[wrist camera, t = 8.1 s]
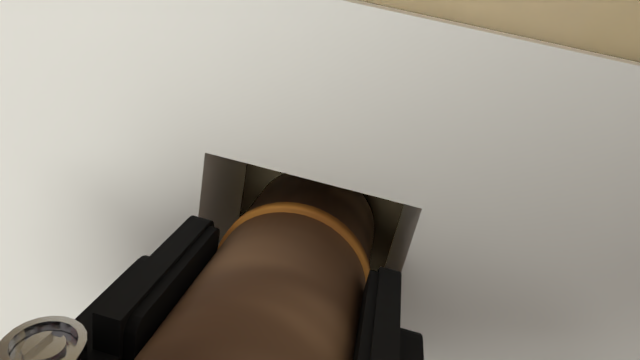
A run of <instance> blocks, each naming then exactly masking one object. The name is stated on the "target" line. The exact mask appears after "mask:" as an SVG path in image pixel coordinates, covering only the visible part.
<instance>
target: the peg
mask: <svg viewBox="0 0 640 360" xmlns="http://www.w3.org/2000/svg"><path fill="white" fill-rule="evenodd" d="M373 238H374V219H373V215H372V212H371V209H370V207H369V205H368V203H367V201H366V199H365V198H364V196H363V195H362V194H361V193H359V192H356V191H352V190H348V189H344V188H340V187H336V186H332V185H329V184H325V183H321V182H317V181H313V180H309V179H305V178H301V177H298V176H294V175H290V174H286V173H284V174H282V175H280V176H278V177H277V178H276V179H274V180H273V181H272V182H270V183H269V184H268V185H267V186H266V188H265V189H264V190H263V191H262V193H261V194H260V195H259V197H258V198H257V199H256V201H255V202H254V203H253V205H252V206H251V207H250V208H249V210H248V211H247V212H246V213H245V214H244V215H242V216H241V217H240V218H239V219H237V220H236V221H235V222H234V223H233V225H232V226H231V227H230V228H229V230H228V231H227V232H226V234H225V235H224V236H223V238H222V240H221V241H220V243H219V246H218V250H217V252H216V253H215V254H214V256H213V257H212V258H211V259H210V261H209V262H208V263H207V265H206V266H205V267H204V269H203V270H202V271H201V272H200V274H199V275H198V276H197V278H196V279H195V280H194V282H193V283H192V284H191V286H190V287H189V288H188V289H187V291H186V292H185V293H184V295H183V296H182V297H181V299H180V300H179V301H178V303H177V304H176V305H175V306H174V308H173V309H172V310H171V312H170V313H169V314H168V316H167V317H166V318H165V320H164V321H163V322H162V323H161V325H160V326H159V327H158V329H157V330H156V331H155V333H154V334H153V335H152V337H151V338H150V339H149V340H148V342H147V343H146V344H145V346H144V347H143V348H142V350H141V351H140V352H139V354H138V355H137V356H136V357H135V359H134V360H353V356H354V349H355V343H356V336H357V330H358V323H359V317H360V310H361V304H362V297H363V291H364V288H365V284H366V281H367V278H368V274H369V271H370V258H371V251H372V245H373Z"/></svg>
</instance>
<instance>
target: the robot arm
mask: <svg viewBox="0 0 640 360" xmlns="http://www.w3.org/2000/svg"><path fill="white" fill-rule="evenodd" d="M219 235H220V230H219V228H216V227H214V222H213V221H212V220H208V219H205V218H201V217H197V216H194V215H191V216H190V217H189V218H188V219H187V220H186V221H185V222H184V223H183V224H182V225H181V226H180V227H179V228H178V229H177V230H176V231H175V232H174V233H173V234H172V235H171V236H169V237H168V238H167V239H166V240H165V241H164V242H163V243H162V244H161V245H160V246H159V247H158V248H157V249H156V250H155V251H154V252H153V253H152V254H151V255H150V256H147V255H144V256H141V257H140V258H138V259H137V260H136V261H135V262H134V263H133V264H132V265H131V266H130V267H129V268H128V269H127V270H126V271H125V272H124V273H123V274H121V275H120V276H119V277H118V278H117V279H116V280H115V281H114V282H113V283H112V284H111V285H110V286H109V287H108V288H107V289H106V290H105V291H104V292H103V293H102V294H101V295H99V296H98V297H97V298H96V299H95V300H94V301H93V302H92V303H91V304H90V305H89V306H88V307H87V308H86V309H85V310H84V311H83V312H82V313H81V314H80V315H78V316H77V317H76V318H75V319H72V318H69V317H65V316H46V317H39V318H36V319H33V320H30V321H27V322H25V323H23V324H21V325H19V326H17V327H15V328H14V329H12V330H11V331H10V332H9V333H8V334H7V335H5V336H4V337H3V338H2V340H1V341H0V360H134V359H135V357H136V356H137V355H138V354H139V352H140V351H141V350H142V348H143V347H144V346H145V344H146V343H147V342H148V340H149V339H150V338H151V337H152V335H153V334H154V333H155V331H156V330H157V329H158V327H159V326H160V325H161V323H162V322H163V321H164V320H165V318H166V317H167V316H168V314H169V313H170V312H171V310H172V309H173V308H174V306H175V305H176V304H177V303H178V301H179V300H180V299H181V297H182V296H183V295H184V293H185V292H186V291H187V289H188V288H189V287H190V286H191V284H192V283H193V282H194V280H195V279H196V278H197V276H198V275H199V274H200V272H201V271H202V270H203V269H204V267H205V266H206V265H207V263H208V262H209V261H210V259H211V258H212V257H213V256H214V254H215V253H216V252H217V250H218V243H219ZM401 278H402V274H401V272H399V271H395V270H391V269H388V268H384V267H379V269H378V272H377V271H373V270H370V271H369V274H368V278H367V281H366V284H365V288H364V291H363V297H362V304H361V310H360V317H359V323H358V330H357V336H356V343H355V349H354V356H353V360H424V350H423V336H422V334H421V333H418V332H414V331H411V330H407V329H404V328H400V319H401Z"/></svg>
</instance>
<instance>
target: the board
mask: <svg viewBox="0 0 640 360" xmlns="http://www.w3.org/2000/svg"><path fill="white" fill-rule="evenodd" d="M247 164H251V165H255V166H259V167H263V168H267V169H271V170H274V171H278V172H282V173H286V174H290V175H294V176H298V177H301V178H305V179H309V180H313V181H317V182H321V183H325V184H329V185H332V186H336V187H340V188H344V189H348V190H352V191H356V192H359V193H363V194H367V195H371V196H375V197H379V198H383V199H386V200H390V201H394V202H398V203H402V204H404V205H403V209H402V212H401V215H400V218H399V222H398V225H397V228H396V231H395V235H394V238H393V241H392V244H391V248H390V251H389V254H388V257H387V261H386V264H385V267H384V268H388V269H391V270H395V271H399V272H401V274H402V278H401V319H400V328H404V329H407V330H411V331H414V332H418V333H421V334H422V336H423V350H424V360H640V62H636V61H632V60H627V59H622V58H618V57H613V56H609V55H604V54H600V53H595V52H591V51H586V50H582V49H577V48H572V47H568V46H563V45H559V44H554V43H550V42H545V41H541V40H536V39H532V38H527V37H523V36H518V35H513V34H509V33H504V32H500V31H495V30H491V29H486V28H482V27H477V26H473V25H468V24H464V23H459V22H454V21H450V20H445V19H441V18H436V17H432V16H427V15H423V14H418V13H414V12H409V11H405V10H400V9H395V8H391V7H386V6H382V5H377V4H373V3H368V2H364V1H359V0H0V341H1V340H2V338H3V337H4V336H5V335H7V334H8V333H9V332H10V331H11V330H12V329H14V328H15V327H17V326H19V325H21V324H23V323H25V322H27V321H30V320H33V319H36V318H39V317H46V316H65V317H69V318H72V319H75V318H76V317H77V316H78V315H80V314H81V313H82V312H83V311H84V310H85V309H86V308H87V307H88V306H89V305H90V304H91V303H92V302H93V301H94V300H95V299H96V298H97V297H98V296H99V295H101V294H102V293H103V292H104V291H105V290H106V289H107V288H108V287H109V286H110V285H111V284H112V283H113V282H114V281H115V280H116V279H117V278H118V277H119V276H120V275H121V274H123V273H124V272H125V271H126V270H127V269H128V268H129V267H130V266H131V265H132V264H133V263H134V262H135V261H136V260H137V259H138V258H140V257H141V256H144V255H147V256H150V255H151V254H152V253H153V252H154V251H155V250H156V249H157V248H158V247H159V246H160V245H161V244H162V243H163V242H164V241H165V240H166V239H167V238H168V237H169V236H171V235H172V234H173V233H174V232H175V231H176V230H177V229H178V228H179V227H180V226H181V225H182V224H183V223H184V222H185V221H186V220H187V219H188V218H189V217H190V216H191V215H194V216H197V217H201V218H205V219H208V220H212V221H213V222H214V227H216V228H219V230H220V235H219V243H220V241H221V240H222V238H223V236H224V235H225V234H226V232H227V231H228V230H229V228H230V227H231V226H232V225H233V223H234V222H235V221H236V220H237V219H239V216H240V209H241V202H242V195H243V188H244V181H245V175H246V168H247ZM219 243H218V246H219Z"/></svg>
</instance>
